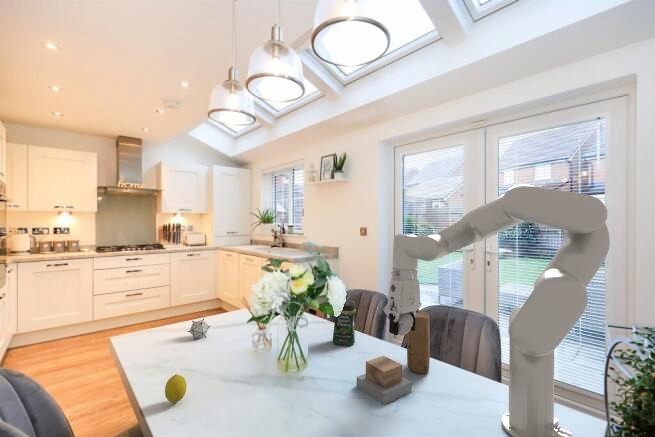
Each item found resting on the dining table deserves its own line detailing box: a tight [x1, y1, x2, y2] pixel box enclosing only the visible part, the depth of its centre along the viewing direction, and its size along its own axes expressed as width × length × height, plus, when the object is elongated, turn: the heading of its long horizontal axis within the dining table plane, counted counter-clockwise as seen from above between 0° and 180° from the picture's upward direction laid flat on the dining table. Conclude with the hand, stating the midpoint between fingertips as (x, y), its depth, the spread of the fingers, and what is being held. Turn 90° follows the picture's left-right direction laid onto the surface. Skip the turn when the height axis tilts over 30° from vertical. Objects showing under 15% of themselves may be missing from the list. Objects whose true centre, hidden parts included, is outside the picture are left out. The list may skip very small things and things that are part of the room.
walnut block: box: [365, 355, 404, 389], centre depth 97 cm, size 8×8×5 cm
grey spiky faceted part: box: [187, 317, 212, 341], centre depth 137 cm, size 9×8×10 cm
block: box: [406, 310, 431, 374], centre depth 112 cm, size 11×8×20 cm
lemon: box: [164, 373, 187, 404], centre depth 88 cm, size 6×6×8 cm
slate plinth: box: [356, 373, 413, 405], centre depth 97 cm, size 12×12×3 cm
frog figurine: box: [397, 313, 413, 336], centre depth 96 cm, size 6×7×7 cm
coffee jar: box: [332, 299, 357, 347], centre depth 134 cm, size 10×8×19 cm
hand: (402, 331), depth 96 cm, fingers closed on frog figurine, 6 cm apart
